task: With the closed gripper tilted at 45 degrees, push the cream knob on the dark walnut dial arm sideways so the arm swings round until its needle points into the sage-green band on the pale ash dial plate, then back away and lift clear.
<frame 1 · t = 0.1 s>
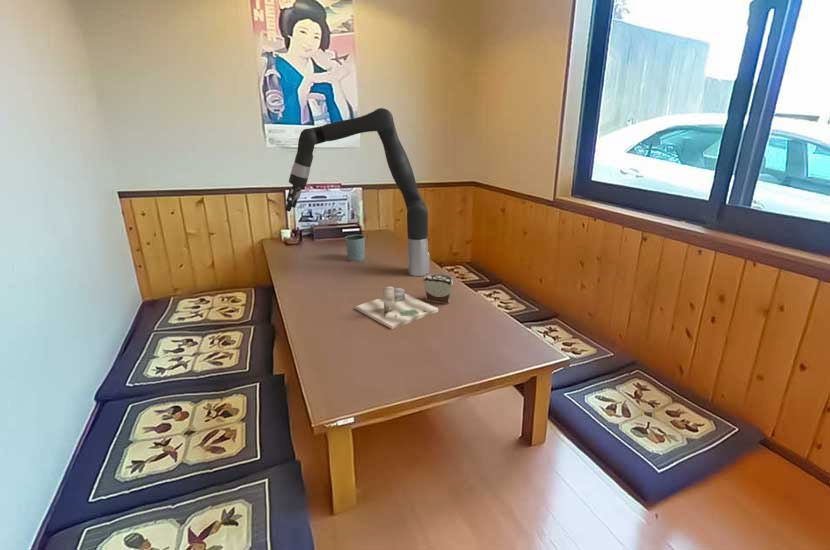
hand: (290, 209, 197), 31 cm above the table, tool tilted 20°, fingers open, 8 cm apart
food container: (440, 299, 178), on the table
dial plate: (397, 301, 176), on the table
grey cup: (356, 259, 229), on the table
peg dial: (392, 294, 169), point 6 cm above the table, hinge at 0.0°
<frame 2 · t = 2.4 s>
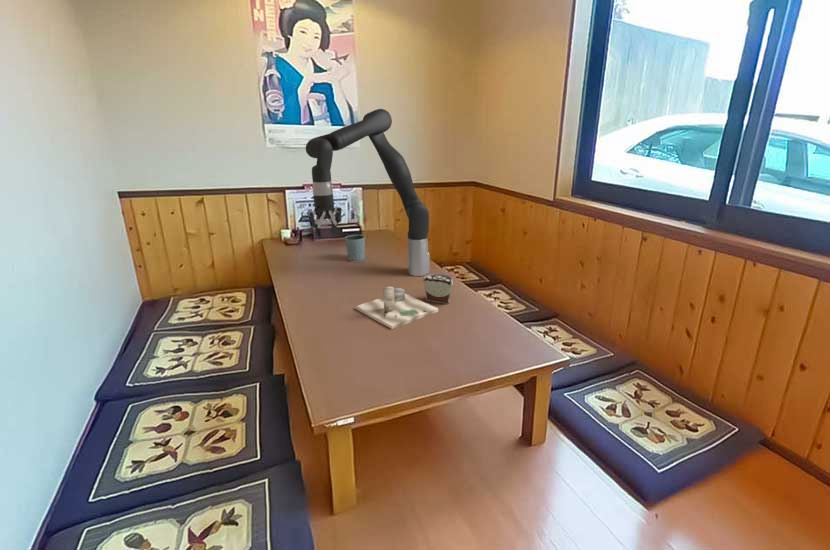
hand: (326, 235, 175), 26 cm above the table, tool pointing down, fingers open, 6 cm apart
nothing on the table moved.
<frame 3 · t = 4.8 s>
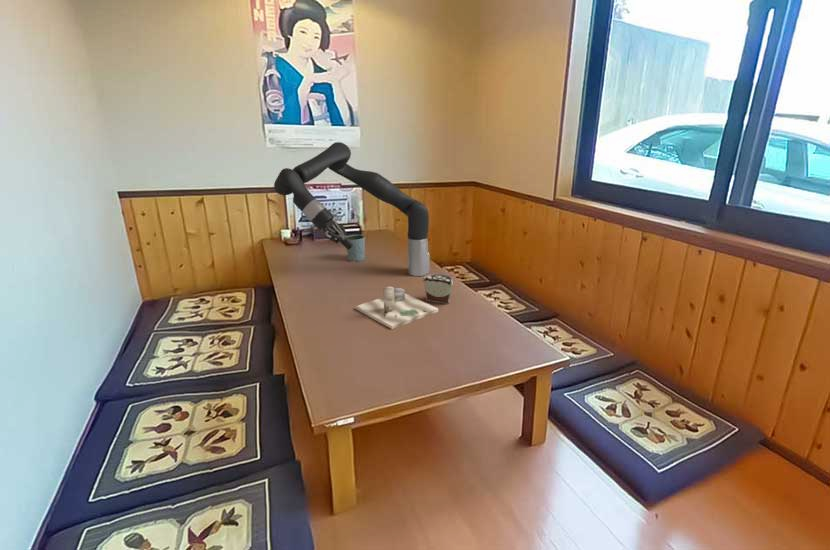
hand: (350, 247, 165), 24 cm above the table, tool tilted 45°, fingers closed
nothing on the table moved.
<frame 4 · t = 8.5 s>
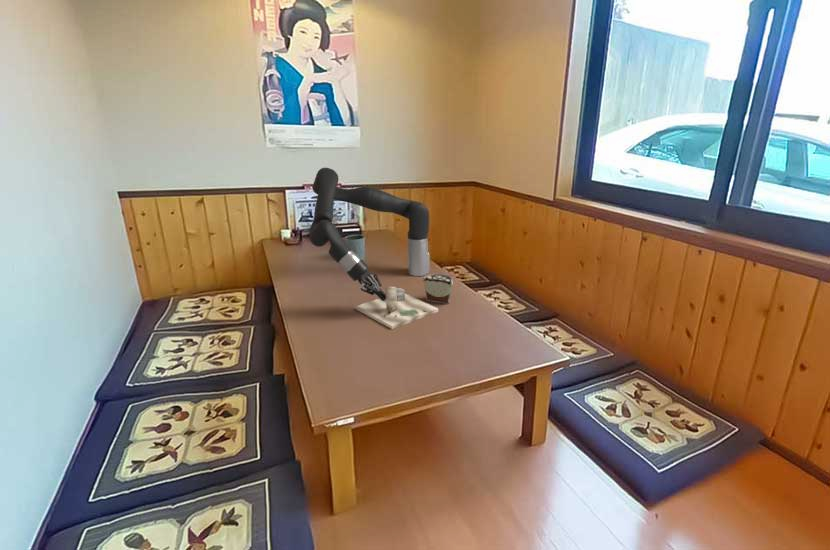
hand: (385, 298, 165), 5 cm above the table, tool tilted 45°, fingers closed
peg dial: (393, 294, 169), point 6 cm above the table, hinge at 5.0°, touching gripper
everything else where it was.
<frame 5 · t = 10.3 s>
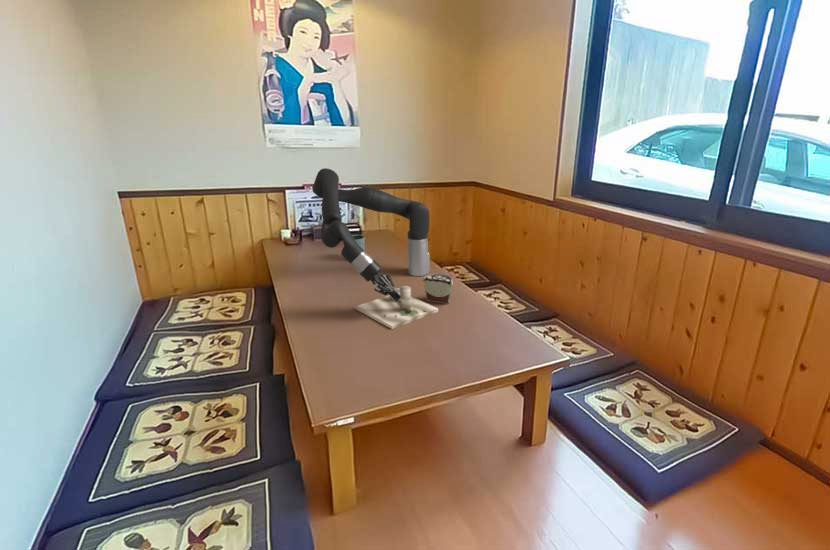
hand: (398, 299, 165), 5 cm above the table, tool tilted 45°, fingers closed
peg dial: (401, 293, 169), point 6 cm above the table, hinge at 33.0°
everything else where it was.
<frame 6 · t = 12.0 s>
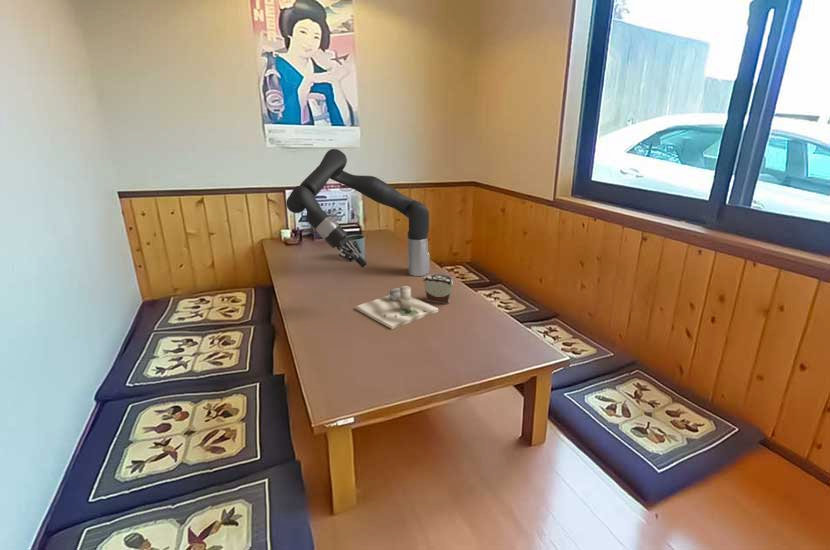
hand: (365, 265, 163), 18 cm above the table, tool tilted 45°, fingers closed
nothing on the table moved.
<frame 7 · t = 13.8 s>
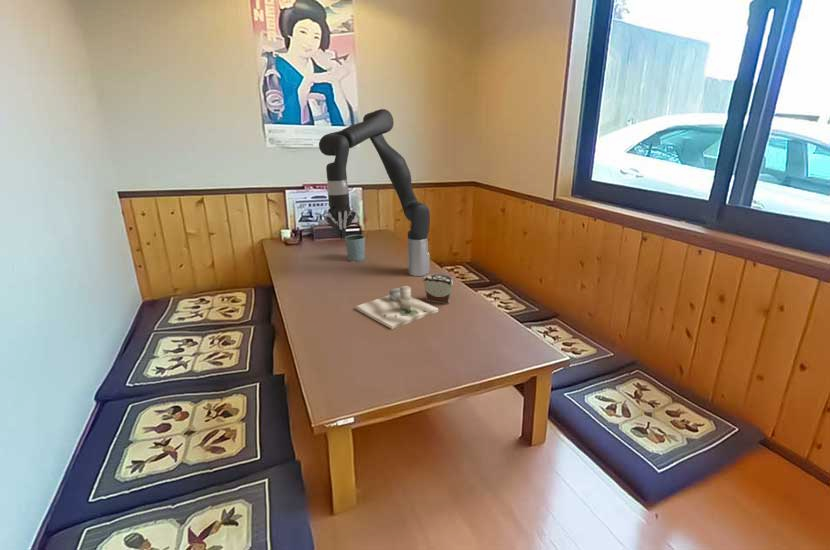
hand: (342, 238, 166), 27 cm above the table, tool pointing down, fingers closed
nothing on the table moved.
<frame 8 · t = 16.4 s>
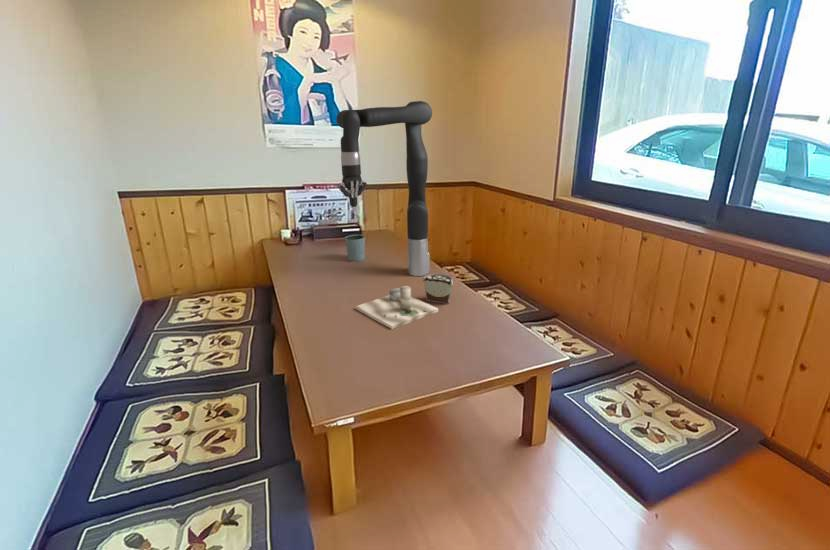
hand: (353, 206, 181), 35 cm above the table, tool pointing down, fingers closed
nothing on the table moved.
at the end: peg dial at +33° (first picture: +0°); food container moved 0.2 cm from its start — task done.
